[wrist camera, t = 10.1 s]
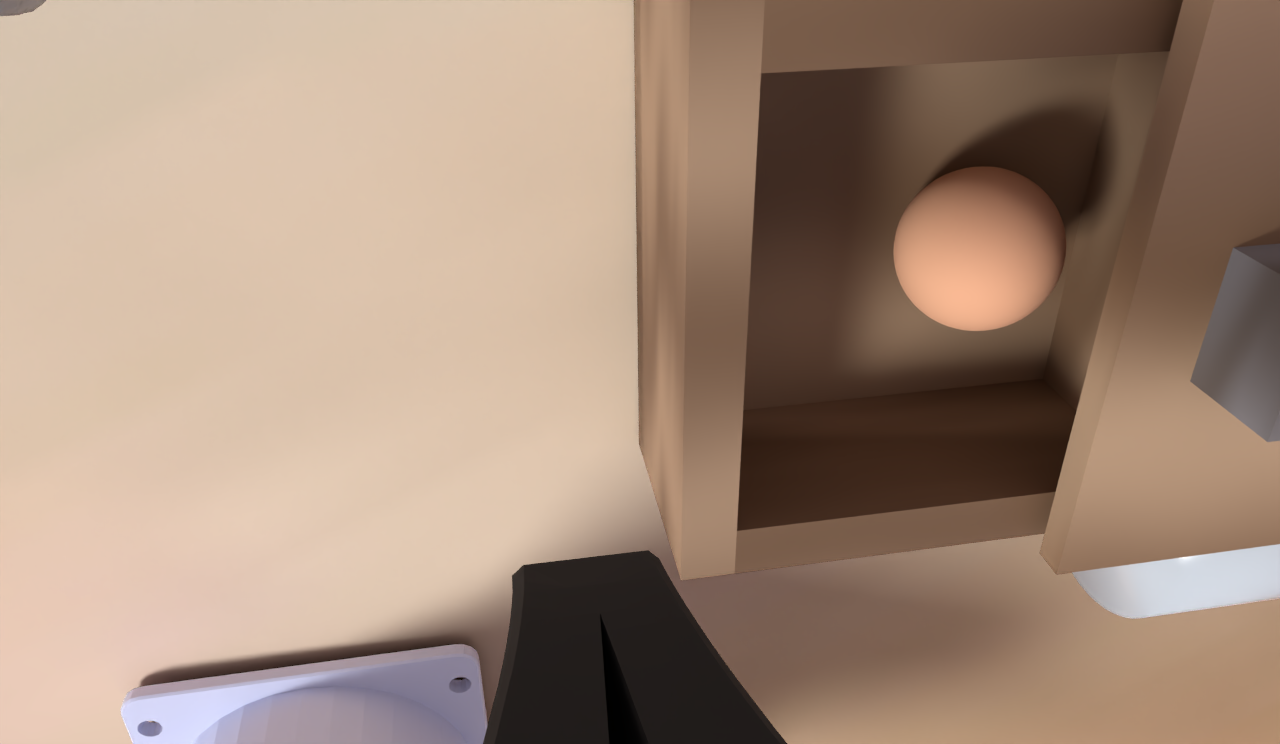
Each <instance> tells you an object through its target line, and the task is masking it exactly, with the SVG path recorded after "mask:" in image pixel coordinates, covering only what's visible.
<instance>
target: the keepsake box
mask: <svg viewBox="0 0 1280 744" xmlns="http://www.w3.org/2000/svg"><path fill="white" fill-rule="evenodd" d="M1182 2H1183V0H634V52H635V137H636V221H637V305H638V390H639V445H640V448H641V452H642V455H643V458H644V461H645V465H646V468H647V471H648V474H649V478H650V481H651V484H652V487H653V491H654V494H655V497H656V501H657V504H658V507H659V510H660V514H661V517H662V520H663V523H664V527H665V530H666V533H667V536H668V540H669V543H670V546H671V550H672V553H673V556H674V559H675V563H676V566H677V569H678V572H679V576H680V579H681V581H682V580H689V579H697V578H705V577H712V576H720V575H728V574H736V573H743V572H751V571H759V570H766V569H774V568H782V567H790V566H797V565H805V564H813V563H820V562H828V561H836V560H844V559H851V558H859V557H867V556H875V555H882V554H890V553H898V552H905V551H913V550H921V549H929V548H936V547H944V546H952V545H959V544H967V543H975V542H983V541H990V540H998V539H1006V538H1013V537H1021V536H1029V535H1037V534H1044V533H1045V531H1046V527H1047V523H1048V519H1049V516H1050V512H1051V508H1052V504H1053V500H1054V496H1055V492H1056V489H1057V485H1058V481H1059V477H1060V473H1061V469H1062V465H1063V462H1064V458H1065V454H1066V450H1067V446H1068V442H1069V438H1070V435H1071V431H1072V427H1073V423H1074V419H1075V415H1076V411H1077V407H1078V404H1079V400H1080V396H1081V392H1082V388H1083V384H1084V380H1085V377H1086V373H1087V369H1088V365H1089V361H1090V357H1091V353H1092V350H1093V346H1094V342H1095V338H1096V334H1097V330H1098V326H1099V323H1100V319H1101V315H1102V311H1103V307H1104V303H1105V299H1106V296H1107V292H1108V288H1109V284H1110V280H1111V276H1112V272H1113V268H1114V265H1115V261H1116V257H1117V253H1118V249H1119V245H1120V241H1121V238H1122V234H1123V230H1124V226H1125V222H1126V218H1127V214H1128V211H1129V207H1130V203H1131V199H1132V195H1133V191H1134V187H1135V184H1136V180H1137V176H1138V172H1139V168H1140V164H1141V160H1142V156H1143V153H1144V149H1145V145H1146V141H1147V137H1148V133H1149V129H1150V126H1151V122H1152V118H1153V114H1154V110H1155V106H1156V102H1157V99H1158V95H1159V91H1160V87H1161V83H1162V79H1163V75H1164V72H1165V68H1166V64H1167V60H1168V56H1169V52H1170V48H1171V44H1172V41H1173V37H1174V33H1175V29H1176V25H1177V21H1178V17H1179V14H1180V10H1181V6H1182ZM969 167H998V168H1003V169H1007V170H1010V171H1013V172H1016V173H1018V174H1020V175H1022V176H1024V177H1026V178H1028V179H1030V180H1031V181H1033V182H1034V183H1035V184H1037V185H1038V186H1039V187H1040V188H1041V189H1042V190H1043V191H1044V192H1045V193H1046V194H1047V195H1048V196H1049V197H1050V199H1051V200H1052V201H1053V203H1054V204H1055V206H1056V207H1057V209H1058V212H1059V214H1060V216H1061V219H1062V221H1063V225H1064V228H1065V235H1066V256H1065V262H1064V267H1063V270H1062V273H1061V275H1060V278H1059V280H1058V282H1057V284H1056V286H1055V287H1054V289H1053V290H1052V292H1051V293H1050V295H1049V296H1048V297H1047V298H1046V300H1045V301H1044V302H1043V303H1042V304H1041V305H1040V306H1039V307H1038V308H1037V309H1035V310H1034V311H1033V312H1032V313H1030V314H1029V315H1027V316H1026V317H1024V318H1023V319H1021V320H1019V321H1017V322H1015V323H1013V324H1011V325H1008V326H1005V327H1002V328H998V329H993V330H987V331H967V330H960V329H955V328H952V327H948V326H945V325H943V324H940V323H938V322H937V321H935V320H933V319H931V318H930V317H928V316H926V315H925V314H924V313H923V312H922V311H920V310H919V309H918V308H917V307H916V306H915V305H914V304H913V303H912V302H911V300H910V299H909V298H908V296H907V295H906V293H905V292H904V290H903V288H902V286H901V284H900V282H899V279H898V277H897V274H896V270H895V265H894V255H893V249H894V240H895V235H896V230H897V227H898V224H899V221H900V219H901V217H902V215H903V213H904V211H905V210H906V208H907V206H908V205H909V204H910V202H911V201H912V200H913V199H914V197H915V196H916V195H917V194H918V193H919V192H920V191H921V190H922V189H924V188H925V187H926V186H927V185H928V184H930V183H931V182H933V181H934V180H936V179H938V178H940V177H941V176H943V175H945V174H948V173H951V172H953V171H956V170H960V169H964V168H969Z"/></svg>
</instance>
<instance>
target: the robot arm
mask: <svg viewBox="0 0 1280 744" xmlns="http://www.w3.org/2000/svg"><path fill="white" fill-rule="evenodd" d="M512 583H513V597H512V608H511V619H510V626H509V633H508V639H507V645H506V650H505V655H504V660H503V665H502V670H501V675H500V680H499V684H498V688H497V692H496V696H495V699H494V703H493V707H492V711H491V715H490V718H489V722H488V723H487V715H486V708H485V700H484V692H483V685H482V677H481V669H480V662H479V656H478V653H477V651H476V650H475V649H474V648H472V647H471V646H468V645H465V644H453V645H445V646H438V647H430V648H423V649H416V650H408V651H401V652H393V653H386V654H378V655H371V656H364V657H356V658H349V659H341V660H334V661H326V662H319V663H311V664H304V665H297V666H289V667H282V668H274V669H267V670H259V671H252V672H245V673H237V674H230V675H222V676H215V677H207V678H200V679H193V680H185V681H178V682H170V683H163V684H155V685H148V686H141V687H138V688H134V689H132V690H131V691H130V692H128V693H127V695H126V696H125V698H124V701H123V704H122V707H121V716H122V718H123V721H124V723H125V726H126V728H127V730H128V733H129V735H130V738H131V740H132V743H133V744H787V743H786V742H785V740H784V739H783V738H782V737H781V735H780V734H779V733H778V732H777V731H776V729H775V728H774V727H773V725H772V724H771V723H770V722H769V720H768V719H767V718H766V716H765V715H764V714H763V712H762V711H761V710H760V709H759V707H758V706H757V705H756V703H755V702H754V701H753V699H752V698H751V697H750V696H749V694H748V693H747V692H746V690H745V689H744V688H743V686H742V685H741V684H740V683H739V681H738V680H737V679H736V677H735V676H734V675H733V673H732V672H731V670H730V669H729V668H728V666H727V665H726V664H725V662H724V661H723V659H722V658H721V657H720V655H719V654H718V652H717V651H716V649H715V648H714V647H713V645H712V644H711V642H710V641H709V639H708V638H707V636H706V635H705V633H704V632H703V630H702V629H701V628H700V626H699V625H698V623H697V622H696V620H695V619H694V617H693V615H692V614H691V612H690V611H689V609H688V608H687V606H686V605H685V603H684V601H683V600H682V598H681V596H680V595H679V593H678V592H677V590H676V588H675V587H674V585H673V583H672V581H671V580H670V578H669V576H668V575H667V573H666V571H665V569H664V567H663V565H662V563H661V562H660V560H659V558H658V557H656V556H655V555H654V554H652V553H651V552H650V551H639V552H631V553H622V554H614V555H605V556H597V557H588V558H580V559H572V560H563V561H555V562H546V563H538V564H529V565H523V566H522V567H521V568H520V569H519V570H518V571H517V572H516V573H515V574H514V575H513V576H512ZM458 677H465V678H466V679H463V680H454V679H455V678H458ZM149 721H155V722H158V723H154V722H149Z"/></svg>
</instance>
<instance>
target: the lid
mask: <svg viewBox="0 0 1280 744" xmlns="http://www.w3.org/2000/svg"><path fill="white" fill-rule="evenodd" d="M1277 544H1280V0H1183V2H1182V6H1181V10H1180V14H1179V17H1178V21H1177V25H1176V29H1175V33H1174V37H1173V41H1172V44H1171V48H1170V52H1169V56H1168V60H1167V64H1166V68H1165V72H1164V75H1163V79H1162V83H1161V87H1160V91H1159V95H1158V99H1157V102H1156V106H1155V110H1154V114H1153V118H1152V122H1151V126H1150V129H1149V133H1148V137H1147V141H1146V145H1145V149H1144V153H1143V156H1142V160H1141V164H1140V168H1139V172H1138V176H1137V180H1136V184H1135V187H1134V191H1133V195H1132V199H1131V203H1130V207H1129V211H1128V214H1127V218H1126V222H1125V226H1124V230H1123V234H1122V238H1121V241H1120V245H1119V249H1118V253H1117V257H1116V261H1115V265H1114V268H1113V272H1112V276H1111V280H1110V284H1109V288H1108V292H1107V296H1106V299H1105V303H1104V307H1103V311H1102V315H1101V319H1100V323H1099V326H1098V330H1097V334H1096V338H1095V342H1094V346H1093V350H1092V353H1091V357H1090V361H1089V365H1088V369H1087V373H1086V377H1085V380H1084V384H1083V388H1082V392H1081V396H1080V400H1079V404H1078V407H1077V411H1076V415H1075V419H1074V423H1073V427H1072V431H1071V435H1070V438H1069V442H1068V446H1067V450H1066V454H1065V458H1064V462H1063V465H1062V469H1061V473H1060V477H1059V481H1058V485H1057V489H1056V492H1055V496H1054V500H1053V504H1052V508H1051V512H1050V516H1049V519H1048V523H1047V527H1046V531H1045V535H1044V539H1043V543H1042V547H1041V550H1040V554H1041V555H1042V557H1043V558H1044V559H1045V560H1046V562H1047V563H1048V564H1049V566H1050V567H1051V568H1052V569H1053V571H1054V572H1055V573H1056V574H1064V573H1072V572H1079V571H1086V570H1094V569H1101V568H1108V567H1116V566H1123V565H1130V564H1138V563H1145V562H1152V561H1160V560H1167V559H1174V558H1182V557H1189V556H1196V555H1204V554H1211V553H1218V552H1226V551H1233V550H1240V549H1248V548H1255V547H1262V546H1270V545H1277Z"/></svg>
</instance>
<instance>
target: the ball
mask: <svg viewBox="0 0 1280 744" xmlns="http://www.w3.org/2000/svg"><path fill="white" fill-rule="evenodd" d="M893 255H894V265H895V270H896V274H897V277H898V279H899V282H900V284H901V286H902V288H903V290H904V292H905V293H906V295H907V296H908V298H909V299H910V300H911V302H912V303H913V304H914V305H915V306H916V307H917V308H918V309H919V310H920V311H922V312H923V313H924V314H925V315H926V316H928V317H930V318H931V319H933V320H935V321H937V322H938V323H940V324H943V325H945V326H948V327H952V328H955V329H960V330H967V331H987V330H993V329H998V328H1002V327H1005V326H1008V325H1011V324H1013V323H1015V322H1017V321H1019V320H1021V319H1023V318H1024V317H1026V316H1027V315H1029V314H1030V313H1032V312H1033V311H1034V310H1035V309H1037V308H1038V307H1039V306H1040V305H1041V304H1042V303H1043V302H1044V301H1045V300H1046V298H1047V297H1048V296H1049V295H1050V293H1051V292H1052V290H1053V289H1054V287H1055V286H1056V284H1057V282H1058V280H1059V278H1060V275H1061V273H1062V270H1063V267H1064V262H1065V256H1066V235H1065V228H1064V225H1063V221H1062V219H1061V216H1060V214H1059V212H1058V209H1057V207H1056V206H1055V204H1054V203H1053V201H1052V200H1051V199H1050V197H1049V196H1048V195H1047V194H1046V193H1045V192H1044V191H1043V190H1042V189H1041V188H1040V187H1039V186H1038V185H1037V184H1035V183H1034V182H1033V181H1031V180H1030V179H1028V178H1026V177H1024V176H1022V175H1020V174H1018V173H1016V172H1013V171H1010V170H1007V169H1003V168H998V167H969V168H964V169H960V170H956V171H953V172H951V173H948V174H945V175H943V176H941V177H940V178H938V179H936V180H934V181H933V182H931V183H930V184H928V185H927V186H926V187H925V188H924V189H922V190H921V191H920V192H919V193H918V194H917V195H916V196H915V197H914V199H913V200H912V201H911V202H910V204H909V205H908V206H907V208H906V210H905V211H904V213H903V215H902V217H901V219H900V221H899V224H898V227H897V230H896V235H895V240H894V249H893Z"/></svg>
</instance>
